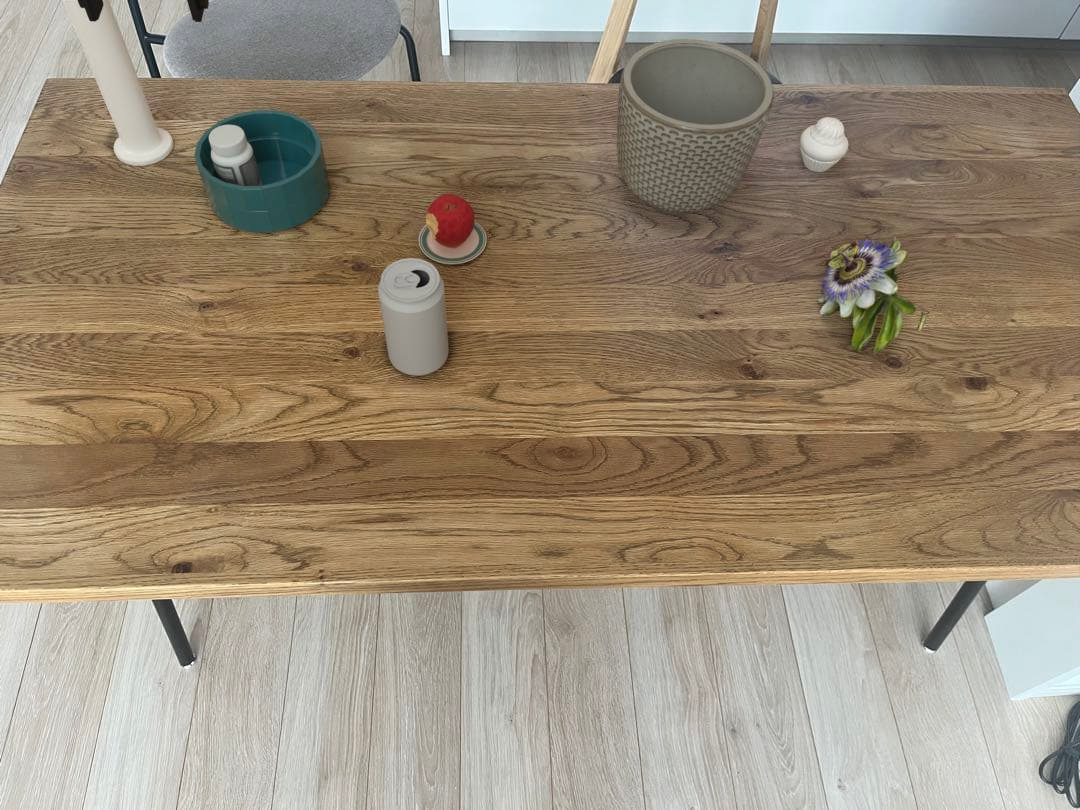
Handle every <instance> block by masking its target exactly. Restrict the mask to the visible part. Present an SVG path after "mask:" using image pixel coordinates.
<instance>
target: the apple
mask: <svg viewBox="0 0 1080 810" xmlns="http://www.w3.org/2000/svg"><path fill="white" fill-rule="evenodd" d="M475 216H476V215H475V211H474V208H473V207H472V206H471V204H470V203H469V202H468V201H467V200H466V199H464V198H463V197H461V196H459V195H457V194H453V193H447V194H442V195H440V196H438V197H437V198H435V199H434V200H433V201H432V203H430V204H429V207H428V208H427V211H426V215H425V223H426V224H425V225H424V226H423V227H422V229H421V230H420V232H419V234H418V245H419V248H420V251H421V252H422V253H423V254H424V255H425V256H426V257H427V258H428V259H431V260H432V261H434V262H436V263H440V264H444V265H460V264H465V263H469V262H470V261H472V260H474V259H476V258H477V257H479V256H480V255H482V253H483V252H484V250H485V248H486V246H487V234H486V231H485V230H484V228H483V227H482V226H481V225H480V223H478V222H477V221H476V217H475Z"/></svg>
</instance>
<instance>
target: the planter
mask: <svg viewBox="0 0 1080 810" xmlns="http://www.w3.org/2000/svg"><path fill="white" fill-rule="evenodd" d="M774 93H775V92H774V86H773V82H772V80H771V78H770V76H769V74H768V73H767V72H766V71H765V69H764V68H763V67H762V66H761V65H760V64H759V63H758V62H757V61H755V59H753V58H751V57H750V56H748V55H746V54H745V53H743V52H741V51H740V50H738V49H735V48H733V47H731V46H728V45H724V44H722V43H719V42H714V41H709V40H704V39H695V38H673V39H668V40H662V41H659V42H654V43H652V44H649V45H647V46H644V47H643V48H640V50H637V51H636V52H635V53H633V54H632V55H631V56H630V57H629V59H628V60H627V61H626V62H625V65H624V67H623V68H622V73H621V75H620V80H619V86H618V97H617V114H616V116H617V118H616V154H617V155H616V156H617V165H618V169H619V172H620V175H621V178H622V180H623V181H624V183H625V185H626V186H627V188H628V189H629V190H630V191H631V192H632V193H633V194H634V195H635V196H636V197H637V198H639V199H640V200H641V201H643V202H645V204H647V205H648V206H649V208H652V209H653V210H655V211H656V212H659V213H662V214H666V215H670V216H687V215H691V214H693V213H696V212H701V211H705V210H709V209H712V208H713V207H715V206H717V205H719V204H721V203H723V202H724V201H725V200H727V199H728V198H729V197H730V196H731V195H732V193H734V192H735V190H736V189H737V188H738V186H739V184H740V182H741V181H742V179H743V177H744V176H745V174H746V172H747V171H748V168H749V166H750V163H751V162H752V159H753V157H754V155H755V152H756V151H757V148H758V145H759V143H760V141H761V138H762V135H763V133H764V131H765V128H766V126H767V123H768V119H769V117H770V115H771V111H772V107H773V103H774Z"/></svg>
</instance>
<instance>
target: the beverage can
mask: <svg viewBox="0 0 1080 810" xmlns="http://www.w3.org/2000/svg"><path fill="white" fill-rule="evenodd" d="M377 293H378V300H379V306H380V311H381V317H382V324H383V330H384V336H385V342H386V343H385V344H386V350H387V355H388V359H389V361H390V363H391V365H392V366H393V367H394V368H395V369H396V370H398V371H399V372H401V373H403V374H406V375H409V376H425V375H429V374H432V373H435V372H436V371H438V370H439V369H441V367H443V366H444V364H445V363H446V361H447V359H448V356H449V350H450V349H449V336H448V335H449V334H448V320H447V305H446V293H445V283H444V279H443V278H442V276H441V275H440V273H439V270H438V269H437V268H436V267H435V265H434V264H432V263H431V262H429V261H427V260H425V259H421V258H417V257H416V258H415V257H407V258H401V259H398V260H396V261H394V262H392V263H390V264H389V265H387V266H386V268H385V269H384V270H383V271H382V273H381V276H380V281H379V283H378V286H377Z"/></svg>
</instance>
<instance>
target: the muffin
mask: <svg viewBox="0 0 1080 810" xmlns="http://www.w3.org/2000/svg"><path fill="white" fill-rule="evenodd" d="M799 148H800V149H799V150H800V155H801V158H802V161H803V164H804V166H805V168H806V169H808V170H809V171H810V172H814V173H823V172H826V171H828V170H829V169H831V168H832V167H833V166H834V165H836V164H837V163H838V162H839V161H840V160H841V159H842V158H843V157H844V156H845V155H846V154H847V152H848V149H849V140H848V137H846V135H845V127H844V124H843V122H842V121H840V119H838V118H836V117H832V116H829V117H828V116H825V117H822V118H820V119H819V120H818V121H816V124H812V125H810V126H808V127H807V128H806V129H804V130H803V131H802V133H801V135H800V139H799Z"/></svg>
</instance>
